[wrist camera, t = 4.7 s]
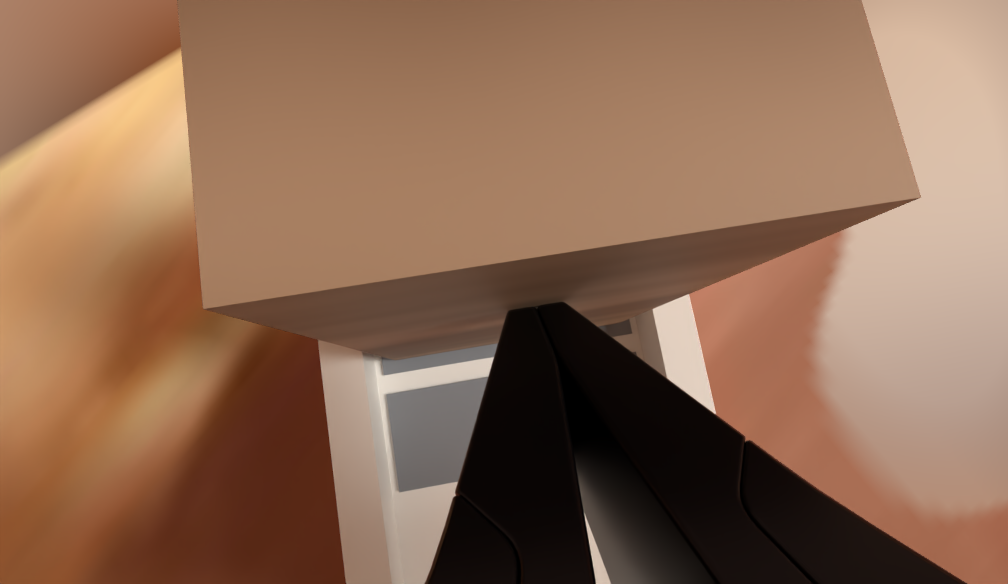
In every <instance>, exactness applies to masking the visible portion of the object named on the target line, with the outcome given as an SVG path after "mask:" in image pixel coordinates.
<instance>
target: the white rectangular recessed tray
mask: <svg viewBox="0 0 1008 584" xmlns="http://www.w3.org/2000/svg"><path fill="white" fill-rule="evenodd" d="M598 327H599V328H600V329H602V330H603V331H604V332H606V333H607V334H608V335H610V336H611V337H612V338H614V339H615V340H616V341H618V342H619V343H620V344H622V345H623V346H625V347H626V348H627V349H629V350H630V351H631V352H633V353H634V354H635V355H637V356H638V357H639V358H641V359H642V360H643V361H645V362H646V363H647V364H649V365H650V366H651V367H653V368H654V369H655V370H657V371H658V372H659V373H661V374H662V375H663V376H665V377H666V378H667V379H669V380H670V381H671V382H673V383H674V384H675V385H677V386H678V387H680V388H681V389H682V390H684V391H685V392H686V393H688V394H689V395H690V396H692V397H693V398H694V399H696V400H697V401H698V402H700V403H701V404H702V405H704V406H705V407H706V408H708V409H709V410H710V411H712V412H713V413H714V414H716V412H715V407H714V403H713V398H712V394H711V390H710V385H709V381H708V376H707V372H706V368H705V363H704V359H703V354H702V350H701V345H700V341H699V337H698V332H697V328H696V323H695V319H694V314H693V310H692V306H691V301H690V297H689V294H687V295H685V296H683V297H680V298H678V299H675V300H673V301H671V302H668V303H666V304H663V305H661V306H659V307H656V308H654V309H651V310H649V311H647V312H644V313H642V314H639V315H637V316H635V317H632V318H630V319H627V320H625V321H623V322H620V323H616V324H610V325H604V326H598ZM497 345H498V343H496V344H490V345H484V346H478V347H472V348H467V349H461V350H455V351H449V352H443V353H437V354H431V355H425V356H419V357H413V358H407V359H401V360H392V359H388V358H385V357H381V356H377V355H373V354H370V353H366V352H362V351H358V350H355V349H351V348H347V347H343V346H340V345H336V344H332V343H328V342H325V341H321V340H318V346H319V355H320V364H321V372H322V381H323V389H324V398H325V407H326V415H327V424H328V433H329V441H330V450H331V459H332V467H333V476H334V485H335V493H336V502H337V510H338V519H339V528H340V536H341V545H342V554H343V562H344V571H345V580H346V584H425V581H426V579H427V576H428V574H429V571H430V569H431V566H432V563H433V560H434V557H435V554H436V550H437V547H438V544H439V541H440V538H441V535H442V532H443V529H444V526H445V523H446V519H447V516H448V513H449V509H450V506H451V502H452V499H453V497H454V496H456V495H455V490H456V486H457V483H458V479H459V476H460V472H461V469H462V466H463V462H464V459H465V455H466V452H467V448H468V445H469V441H470V438H471V435H472V431H473V428H474V424H475V421H476V417H477V414H478V410H479V407H480V404H481V400H482V397H483V393H484V390H485V386H486V383H487V379H488V376H489V372H490V369H491V366H492V362H493V359H494V355H495V352H496V348H497ZM584 515H585V513H584ZM585 521H586V527H587V533H588V539H589V544H590V550H591V556H592V562H593V568H594V574H595V579H596V584H611V582H610V580H609V577H608V574H607V572H606V569H605V566H604V564H603V561H602V558H601V556H600V553H599V550H598V548H597V545H596V542H595V540H594V537H593V534H592V532H591V529H590V526H589V524H588V521H587V518H586V516H585Z"/></svg>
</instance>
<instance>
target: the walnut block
mask: <svg viewBox="0 0 1008 584" xmlns="http://www.w3.org/2000/svg"><path fill="white" fill-rule="evenodd" d="M177 3H178V15H179V27H180V39H181V51H182V63H183V75H184V87H185V99H186V111H187V123H188V135H189V147H190V159H191V171H192V183H193V195H194V207H195V219H196V231H197V243H198V255H199V267H200V279H201V291H202V303H203V309H205V310H208V311H212V312H216V313H220V314H223V315H227V316H231V317H235V318H238V319H242V320H246V321H250V322H253V323H257V324H261V325H265V326H268V327H272V328H276V329H280V330H283V331H287V332H291V333H295V334H298V335H302V336H306V337H310V338H313V339H317V340H321V341H325V342H328V343H332V344H336V345H340V346H343V347H347V348H351V349H355V350H358V351H362V352H366V353H370V354H373V355H377V356H381V357H385V358H388V359H392V360H401V359H407V358H413V357H419V356H425V355H431V354H437V353H443V352H449V351H455V350H461V349H467V348H472V347H478V346H484V345H490V344H496V343H498V341H499V338H500V335H501V331H502V328H503V324H504V321H505V317H506V314H507V312H508V311H509V310H513V309H519V308H525V307H534V308H536V309H537V307H538V306H539V305H544V304H550V303H556V302H565V303H567V304H568V305H570V306H571V307H572V308H574V309H575V310H576V311H578V312H579V313H580V314H582V315H583V316H584V317H586V318H587V319H588V320H590V321H591V322H592V323H594V324H595V325H596V326H604V325H610V324H616V323H620V322H623V321H625V320H627V319H630V318H632V317H635V316H637V315H639V314H642V313H644V312H647V311H649V310H651V309H654V308H656V307H659V306H661V305H663V304H666V303H668V302H671V301H673V300H675V299H678V298H680V297H683V296H685V295H687V294H690V293H692V292H695V291H697V290H699V289H702V288H704V287H707V286H709V285H712V284H714V283H716V282H719V281H721V280H724V279H726V278H728V277H731V276H733V275H736V274H738V273H740V272H743V271H745V270H748V269H750V268H752V267H755V266H757V265H760V264H762V263H764V262H767V261H769V260H772V259H774V258H776V257H779V256H781V255H784V254H786V253H788V252H791V251H793V250H796V249H798V248H800V247H803V246H805V245H808V244H810V243H812V242H815V241H817V240H820V239H822V238H824V237H827V236H829V235H832V234H834V233H836V232H839V231H841V230H844V229H846V228H849V227H851V226H853V225H856V224H858V223H861V222H863V221H865V220H868V219H870V218H872V217H875V216H877V215H879V214H882V213H885V212H887V211H889V210H892V209H894V208H897V207H899V206H901V205H904V204H906V203H909V202H911V201H913V200H916V199H918V198H920V197H921V195H920V192H919V189H918V186H917V182H916V179H915V176H914V172H913V169H912V166H911V163H910V159H909V156H908V152H907V149H906V146H905V143H904V139H903V136H902V133H901V130H900V126H899V123H898V120H897V116H896V113H895V110H894V106H893V103H892V100H891V97H890V93H889V90H888V87H887V83H886V80H885V77H884V73H883V70H882V67H881V63H880V60H879V57H878V54H877V50H876V47H875V44H874V40H873V37H872V34H871V31H870V27H869V24H868V21H867V17H866V14H865V11H864V8H863V4H862V1H861V0H177Z"/></svg>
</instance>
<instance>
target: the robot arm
mask: <svg viewBox="0 0 1008 584" xmlns="http://www.w3.org/2000/svg"><path fill="white" fill-rule="evenodd" d="M455 495H456V496H454V497H453V499H452V502H451V506H450V509H449V513H448V516H447V519H446V523H445V526H444V529H443V532H442V535H441V538H440V541H439V544H438V547H437V550H436V554H435V557H434V560H433V563H432V566H431V569H430V571H429V574H428V576H427V579H426V581H425V584H596V579H595V574H594V568H593V562H592V556H591V550H590V544H589V539H588V533H587V527H586V521H585V516H586V518H587V521H588V524H589V526H590V529H591V532H592V534H593V537H594V540H595V542H596V545H597V548H598V550H599V553H600V556H601V558H602V561H603V564H604V566H605V569H606V572H607V574H608V577H609V580H610V582H611V584H967V583H965V582H964V581H962V580H961V579H959V578H957V577H956V576H954V575H953V574H951V573H949V572H948V571H946V570H945V569H943V568H941V567H940V566H938V565H937V564H935V563H933V562H932V561H930V560H929V559H927V558H925V557H924V556H922V555H921V554H919V553H917V552H916V551H914V550H913V549H911V548H909V547H908V546H906V545H904V544H903V543H901V542H900V541H898V540H896V539H895V538H893V537H892V536H890V535H888V534H887V533H885V532H884V531H882V530H880V529H879V528H877V527H876V526H874V525H872V524H871V523H869V522H868V521H866V520H865V519H863V518H862V517H860V516H859V515H857V514H856V513H854V512H852V511H851V510H849V509H848V508H846V507H845V506H843V505H842V504H840V503H839V502H837V501H836V500H834V499H832V498H831V497H829V496H828V495H826V494H825V493H823V492H822V491H820V490H819V489H817V488H816V487H815V486H813V485H812V484H810V483H809V482H808V481H806V480H805V479H803V478H802V477H800V476H799V475H798V474H796V473H795V472H793V471H792V470H791V469H789V468H788V467H786V466H785V465H784V464H782V463H781V462H779V461H778V460H777V459H775V458H774V457H773V456H771V455H770V454H768V453H767V452H766V451H764V450H763V449H762V448H760V447H759V446H758V445H756V444H755V443H754V442H752V441H750V440H748V441H746V442H745V436H744V435H743V434H741V433H740V432H739V431H737V430H736V429H735V428H733V427H732V426H731V425H729V424H728V423H726V422H725V421H724V420H722V419H721V418H720V417H718V416H717V415H716V414H714V413H713V412H712V411H710V410H709V409H708V408H706V407H705V406H704V405H702V404H701V403H700V402H698V401H697V400H696V399H694V398H693V397H692V396H690V395H689V394H688V393H686V392H685V391H684V390H682V389H681V388H680V387H678V386H677V385H675V384H674V383H673V382H671V381H670V380H669V379H667V378H666V377H665V376H663V375H662V374H661V373H659V372H658V371H657V370H655V369H654V368H653V367H651V366H650V365H649V364H647V363H646V362H645V361H643V360H642V359H641V358H639V357H638V356H637V355H635V354H634V353H633V352H631V351H630V350H629V349H627V348H626V347H625V346H623V345H622V344H620V343H619V342H618V341H616V340H615V339H614V338H612V337H611V336H610V335H608V334H607V333H606V332H604V331H603V330H602V329H600V328H599V327H598V326H596V325H595V324H594V323H592V322H591V321H590V320H588V319H587V318H586V317H584V316H583V315H582V314H580V313H579V312H578V311H576V310H575V309H574V308H572V307H571V306H570V305H568V304H567V303H565V302H556V303H550V304H544V305H539V306H538V307H537V309H536V308H534V307H525V308H519V309H513V310H509V311H508V312H507V314H506V317H505V321H504V324H503V328H502V331H501V335H500V338H499V341H498V345H497V348H496V352H495V355H494V359H493V362H492V366H491V369H490V372H489V376H488V379H487V383H486V386H485V390H484V393H483V397H482V400H481V404H480V407H479V410H478V414H477V417H476V421H475V424H474V428H473V431H472V435H471V438H470V441H469V445H468V448H467V452H466V455H465V459H464V462H463V466H462V469H461V472H460V476H459V479H458V483H457V486H456V490H455ZM584 513H585V515H584Z"/></svg>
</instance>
